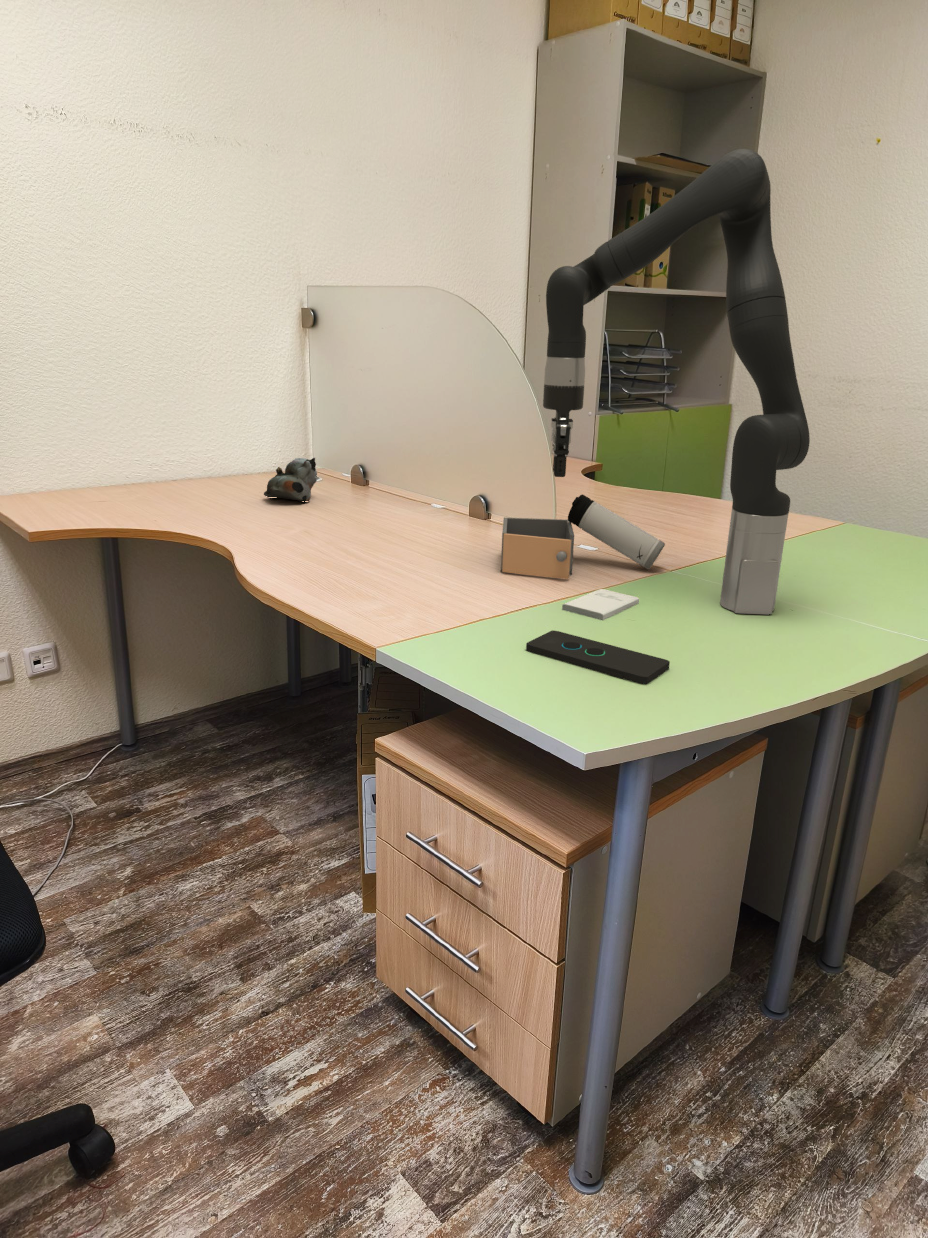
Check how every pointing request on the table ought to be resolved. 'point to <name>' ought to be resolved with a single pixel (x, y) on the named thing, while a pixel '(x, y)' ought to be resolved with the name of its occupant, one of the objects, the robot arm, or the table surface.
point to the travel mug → (615, 531)
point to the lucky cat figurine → (293, 480)
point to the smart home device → (599, 657)
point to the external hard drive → (600, 604)
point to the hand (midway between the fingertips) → (558, 474)
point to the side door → (536, 556)
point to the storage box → (539, 530)
